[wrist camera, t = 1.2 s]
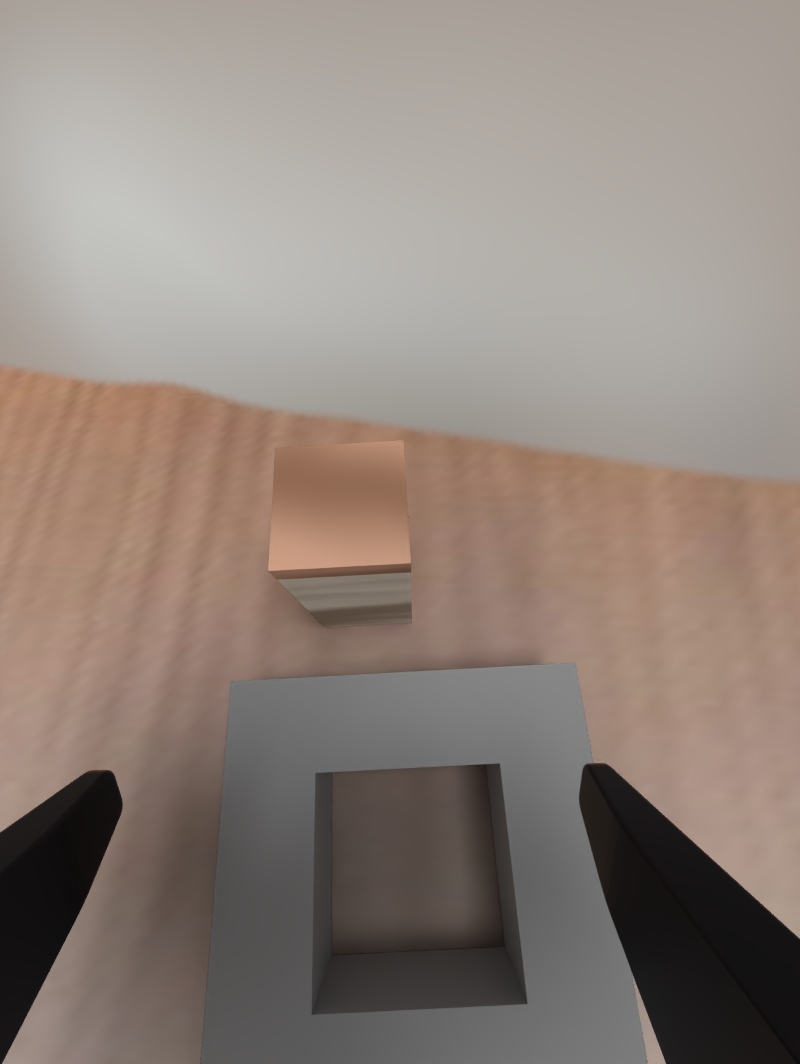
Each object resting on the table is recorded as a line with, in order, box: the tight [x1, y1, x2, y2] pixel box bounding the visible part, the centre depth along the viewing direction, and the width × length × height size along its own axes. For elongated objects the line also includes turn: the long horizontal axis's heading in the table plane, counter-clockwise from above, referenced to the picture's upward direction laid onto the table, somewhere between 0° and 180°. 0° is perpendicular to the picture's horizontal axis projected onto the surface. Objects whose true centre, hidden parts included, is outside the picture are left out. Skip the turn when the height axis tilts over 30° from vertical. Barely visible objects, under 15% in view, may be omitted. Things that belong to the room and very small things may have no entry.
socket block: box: [200, 663, 648, 1064], centre depth 18 cm, size 14×14×4 cm
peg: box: [268, 441, 412, 628], centre depth 20 cm, size 4×4×10 cm
